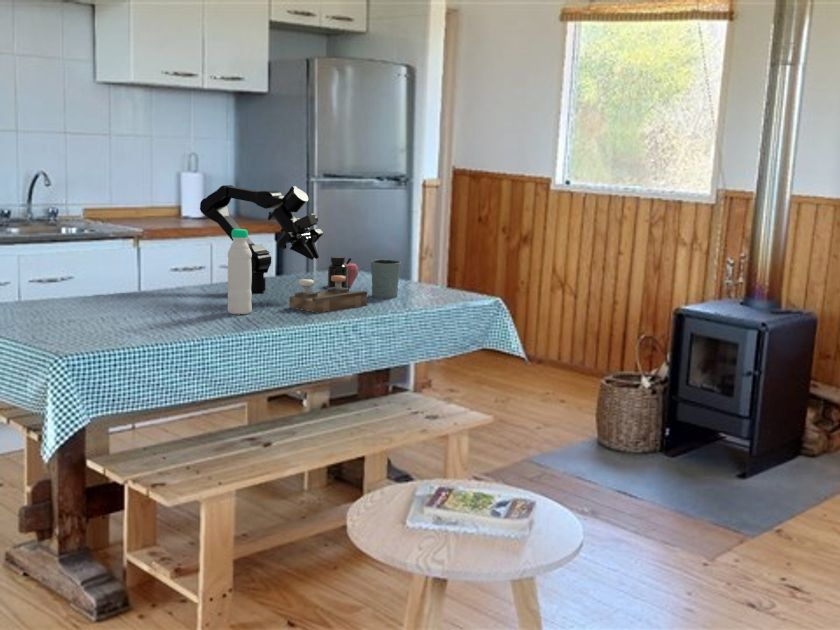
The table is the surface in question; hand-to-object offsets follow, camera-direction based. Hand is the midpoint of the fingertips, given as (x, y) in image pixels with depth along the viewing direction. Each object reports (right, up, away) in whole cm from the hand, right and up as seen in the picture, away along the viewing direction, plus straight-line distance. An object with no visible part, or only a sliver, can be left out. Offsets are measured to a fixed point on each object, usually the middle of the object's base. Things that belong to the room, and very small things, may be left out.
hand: (315, 258), depth 318 cm
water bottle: (-20, -18, -24) cm, 36 cm away
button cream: (-1, -13, -13) cm, 18 cm away
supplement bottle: (+5, -10, +20) cm, 23 cm away
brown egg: (+8, -12, -2) cm, 14 cm away
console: (+5, -16, -9) cm, 19 cm away
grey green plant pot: (+22, -12, +14) cm, 29 cm away
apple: (+8, -8, +32) cm, 34 cm away
